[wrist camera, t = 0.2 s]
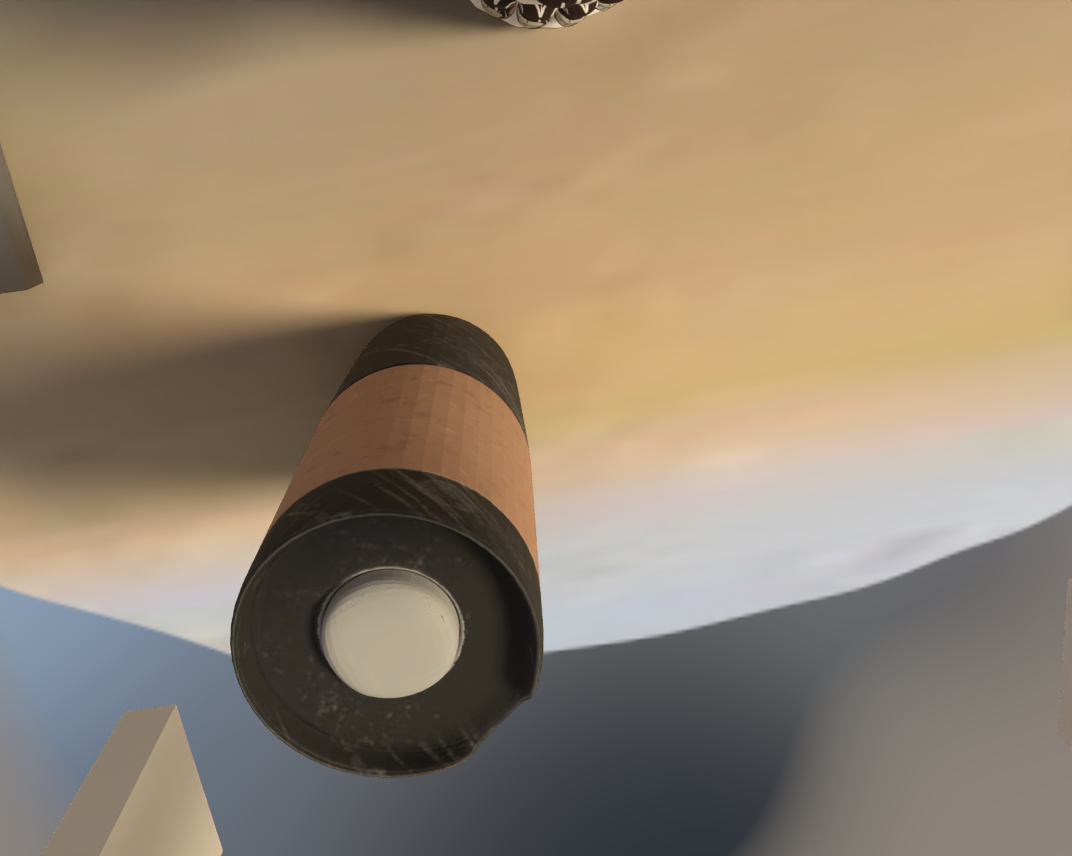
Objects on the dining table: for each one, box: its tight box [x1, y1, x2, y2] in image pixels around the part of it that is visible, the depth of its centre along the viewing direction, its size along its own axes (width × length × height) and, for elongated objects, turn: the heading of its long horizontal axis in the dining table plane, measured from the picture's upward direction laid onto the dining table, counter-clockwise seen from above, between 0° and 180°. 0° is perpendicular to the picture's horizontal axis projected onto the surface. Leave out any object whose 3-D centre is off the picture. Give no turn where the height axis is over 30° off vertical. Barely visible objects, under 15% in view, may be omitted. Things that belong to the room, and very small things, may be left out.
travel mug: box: [230, 315, 543, 778], centre depth 32 cm, size 8×8×20 cm
